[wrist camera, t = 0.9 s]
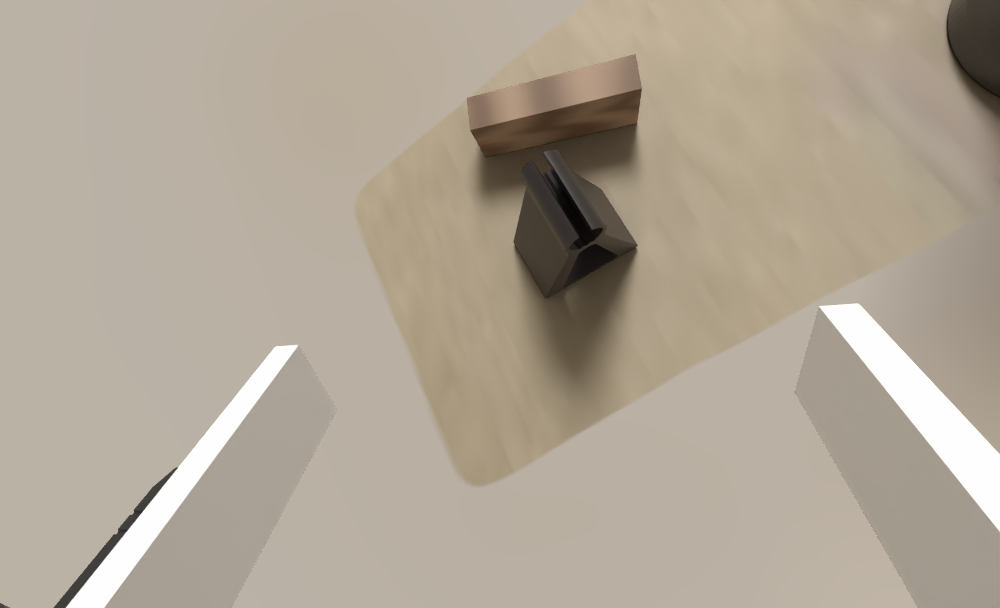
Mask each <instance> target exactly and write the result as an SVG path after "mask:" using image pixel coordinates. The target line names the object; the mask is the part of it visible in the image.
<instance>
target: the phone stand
mask: <svg viewBox="0 0 1000 608" xmlns="http://www.w3.org/2000/svg"><path fill="white" fill-rule="evenodd" d="M543 155H544V157H545V158H546V160H547V162H548V163H549V165H550V166H551V170H550V171H547V172H546V173H545V174H544V176H542V175H541V173H540V172H539V170H538V168H537V167H536V165H535V163H534V162H533V161H532V160H530V161H529V162H528V163H527V164H526V166H525V167H524V168H523V170H522V172H521V178H522V180H523V182H524V183H525V185H526V191H525V195H524V200H523V204H522V208H521V212H520V217H519V221H518V225H517V229H516V234H515V238H514V244H515V246H516V247H517V249H518V251H519V253H520V254H521V256H522V258H523V260H524V261H525V263H526V265H527V267H528V268H529V270H530V272H531V274H532V275H533V277H534V279H535V281H536V282H537V284H538V286H539V288H540V289H541V291H542V293H543V295H544V296H545V298H548V297H550V296H552V295H554V294H555V293H557V292H559V291H560V290H562V289H564V288H566V287H567V286H569V285H571V284H573V283H574V282H576V281H578V280H580V279H581V278H583V277H585V276H587V275H588V274H589V273H591V272H594V271H595V270H597V269H599V268H601V267H602V266H604V265H606V264H607V263H609V262H611V261H613V260H614V259H616V258H618V257H620V256H621V255H623V254H625V253H627V252H628V251H630V250H632V249H634V248H635V247H636V246H637V244H636V242H635V240H634V239H633V237H632V236H631V234H630V233H629V231H628V230H627V228H626V227H625V225H624V223H623V222H622V220H621V219H620V217H619V216H618V214H617V213H616V211H615V210H614V208H613V207H612V205H611V203H610V202H609V200H608V199H607V197H606V196H605V194H604V193H603V191H602V190H601V189H600V188H599V187H597V186H595V185H594V184H592V183H590V182H589V181H587V180H585V179H584V178H582V177H580V176H579V175H577V174H575V173H574V172H572V171H571V169H570V168H569V166H568V164H567V163H566V161H565V160H564V158H563V157H562V155H561V153H560V152H559V151H558V150H548V151H545V152H544V153H543Z"/></svg>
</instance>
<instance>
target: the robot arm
mask: <svg viewBox="0 0 1000 608" xmlns="http://www.w3.org/2000/svg"><path fill="white" fill-rule="evenodd" d="M948 32H949V38H950V42H951V45H952V48H953V51H954V53H955V55H956V57H957V58H958V60H959V62H960V63H961V65H962V66H963V67H964V69H965V70H966V71H967V72H968V73H969V74H970V75H971V76H972V77H973V78H974V79H975V80H976V81H977V82H978V83H980V84H981V85H982V86H984V87H985V88H986V89H988V90H989V91H991V92H993V93H994V94H996V95H998V96H1000V0H952V2H951V5H950V10H949V16H948ZM795 394H796V395H797V397H798V399H799V401H800V402H801V404H802V406H803V408H804V409H805V411H806V413H807V415H808V416H809V418H810V420H811V421H812V423H813V425H814V427H815V429H816V430H817V432H818V434H819V436H820V437H821V439H822V441H823V443H824V444H825V446H826V448H827V450H828V451H829V453H830V455H831V456H832V458H833V460H834V462H835V464H836V465H837V467H838V469H839V471H840V472H841V474H842V476H843V478H844V479H845V481H846V483H847V485H848V486H849V488H850V489H851V491H852V493H853V495H854V497H855V498H856V500H857V502H858V504H859V506H860V507H861V509H862V511H863V513H864V514H865V516H866V518H867V519H868V521H869V523H870V524H871V527H872V528H873V530H874V532H875V533H876V535H877V537H878V539H879V540H880V542H881V544H882V546H883V547H884V549H885V551H886V553H887V554H888V556H889V558H890V560H891V561H892V563H893V565H894V567H895V568H896V570H897V572H898V574H899V575H900V577H901V579H902V580H903V582H904V584H905V586H906V588H907V589H908V591H909V593H910V595H911V596H912V598H913V600H914V602H915V603H916V605H917V607H918V608H1000V454H999V453H998V452H997V451H996V450H995V449H994V448H993V447H992V446H991V445H990V444H989V443H988V441H987V440H986V439H985V438H984V437H983V436H982V435H981V434H980V433H979V432H978V431H977V430H976V429H975V427H974V426H973V425H972V424H971V423H970V422H969V421H968V420H967V419H966V418H965V417H964V416H963V415H962V414H961V413H960V412H959V411H958V409H956V407H955V406H954V405H953V404H952V403H951V402H950V401H949V400H948V399H947V398H946V396H945V395H943V393H942V392H941V391H940V390H939V389H938V388H937V387H936V386H935V385H934V384H933V383H932V382H931V380H929V378H928V377H927V376H926V375H925V374H924V373H923V372H922V371H921V370H920V369H919V368H918V367H917V366H916V364H915V363H914V362H913V361H912V360H911V359H910V358H909V357H908V356H907V355H906V354H905V353H904V352H903V351H902V349H901V348H900V347H899V346H898V345H897V344H896V343H895V342H894V341H893V340H892V339H891V338H890V337H889V336H888V335H887V333H886V332H885V331H884V330H883V329H882V328H881V327H880V326H879V325H878V324H877V323H876V322H875V321H874V320H873V319H872V317H871V316H869V314H868V313H867V312H866V311H865V310H864V309H863V308H862V307H861V306H860V305H859V304H845V305H831V306H819V308H818V312H817V315H816V319H815V322H814V326H813V330H812V333H811V336H810V340H809V343H808V347H807V351H806V354H805V357H804V361H803V364H802V368H801V371H800V375H799V378H798V382H797V385H796V389H795ZM336 411H337V408H336V406H335V405H334V403H333V401H332V400H331V398H330V396H329V395H328V393H327V392H326V390H325V388H324V386H323V385H322V383H321V381H320V380H319V378H318V376H317V375H316V373H315V371H314V370H313V368H312V366H311V365H310V363H309V361H308V360H307V358H306V356H305V354H304V353H303V351H302V349H301V348H300V346H299V345H291V346H277V347H275V348H274V349H273V350H272V352H271V353H270V354H269V355H268V356H267V358H266V359H265V360H264V361H263V363H262V364H261V365H260V366H259V368H258V369H257V370H256V371H255V373H254V374H253V375H252V376H251V378H250V379H249V380H248V381H247V383H246V384H245V385H244V386H243V388H242V389H241V390H240V391H239V393H238V394H237V395H236V396H235V398H234V399H233V400H232V401H231V403H230V404H229V405H228V406H227V407H226V409H225V410H224V411H223V412H222V414H221V415H220V416H219V418H218V419H217V420H216V421H215V423H214V424H213V425H212V426H211V427H210V429H209V430H208V431H207V432H206V434H205V435H204V436H203V437H202V439H201V440H200V441H199V442H198V444H197V445H196V446H195V448H194V449H193V450H192V451H191V452H190V454H189V455H188V456H187V457H186V459H185V460H184V461H183V462H182V464H181V465H180V466H179V467H178V468H175V469H174V470H172V471H171V472H170V473H169V474H168V475H167V476H165V477H164V478H163V479H162V480H161V481H160V482H158V483H157V484H156V485H155V486H154V487H152V489H151V490H150V491H149V492H148V494H147V495H146V496H145V497H144V499H143V500H142V501H141V502H140V503H139V505H138V506H137V507H136V508H135V509H134V514H133V515H130V516H129V517H128V518H127V519H126V521H125V522H124V523H123V524H122V525H121V526H120V528H119V529H118V530H119V531H118V533H117V534H116V535H115V534H114V535H113V536H112V538H111V539H110V540H109V541H108V542H107V543H106V545H105V546H104V547H103V548H102V550H101V551H100V552H99V553H98V555H97V556H96V557H95V558H94V559H93V560H92V562H91V563H90V564H89V565H88V567H87V568H86V569H85V570H84V571H83V573H82V574H81V575H80V576H79V578H78V579H77V580H76V581H75V582H74V584H73V585H72V586H71V587H70V588H69V590H68V591H67V592H66V593H65V595H64V596H63V597H62V598H61V599H60V601H59V602H58V603H57V605H56V606H55V607H54V608H232V606H233V604H234V602H235V600H236V598H237V597H238V595H239V593H240V591H241V589H242V587H243V585H244V583H245V582H246V580H247V578H248V576H249V574H250V572H251V570H252V568H253V566H254V565H255V563H256V561H257V559H258V557H259V555H260V553H261V552H262V549H263V548H264V546H265V544H266V542H267V540H268V538H269V537H270V535H271V533H272V531H273V529H274V527H275V525H276V524H277V522H278V520H279V518H280V516H281V514H282V512H283V511H284V509H285V507H286V505H287V503H288V501H289V499H290V497H291V496H292V494H293V492H294V490H295V488H296V486H297V484H298V483H299V481H300V479H301V477H302V475H303V473H304V471H305V469H306V468H307V466H308V464H309V462H310V460H311V458H312V456H313V455H314V453H315V451H316V449H317V447H318V445H319V443H320V441H321V439H322V438H323V436H324V434H325V432H326V430H327V428H328V426H329V425H330V423H331V421H332V419H333V417H334V415H335V413H336ZM0 608H9V607H7V606H5V605H3V604H1V603H0Z"/></svg>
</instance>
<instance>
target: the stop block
mask: <svg viewBox="0 0 1000 608" xmlns="http://www.w3.org/2000/svg"><path fill="white" fill-rule="evenodd" d="M641 91H642V87H641V81H640V76H639V71H638V65H637V60H636V54H635V55H631V56H627V57H623V58H619V59H615V60H611V61H608V62H604V63H600V64H596V65H592V66H588V67H584V68H581V69H577V70H573V71H569V72H565V73H561V74H558V75H554V76H550V77H546V78H542V79H538V80H534V81H531V82H527V83H523V84H519V85H515V86H511V87H508V88H504V89H500V90H496V91H492V92H488V93H484V94H481V95H477V96H473V97H469V98H467V105H468V115H469V124H470V131H471V132H472V134H473V136H474V138H475V139H476V141H477V143H478V145H479V146H480V148H481V150H482V152H483V153H484V155H485V157H490V156H494V155H499V154H503V153H508V152H512V151H516V150H521V149H525V148H530V147H534V146H538V145H543V144H547V143H552V142H556V141H560V140H565V139H569V138H574V137H578V136H583V135H587V134H591V133H596V132H600V131H605V130H609V129H613V128H618V127H622V126H627V125H631V124H635V123H637V120H638V113H639V105H640V98H641Z"/></svg>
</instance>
